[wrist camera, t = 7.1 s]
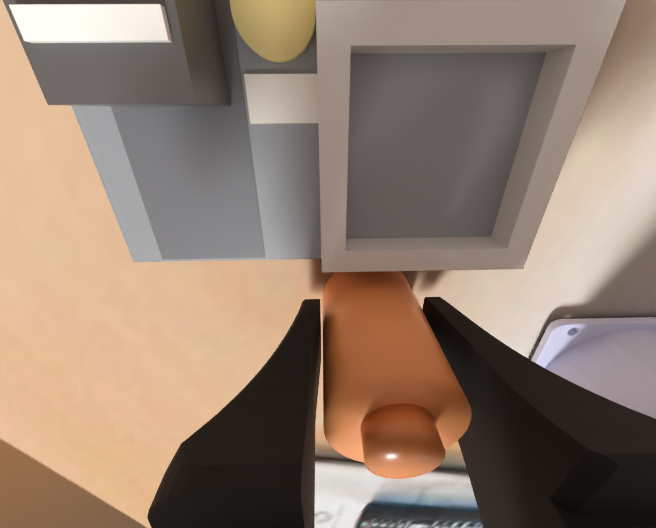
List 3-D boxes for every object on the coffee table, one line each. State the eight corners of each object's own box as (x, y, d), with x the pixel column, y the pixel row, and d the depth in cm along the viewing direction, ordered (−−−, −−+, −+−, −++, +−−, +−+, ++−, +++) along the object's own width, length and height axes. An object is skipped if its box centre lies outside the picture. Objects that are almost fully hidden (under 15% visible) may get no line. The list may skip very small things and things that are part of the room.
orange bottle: (415, 258, 12) (509, 406, 6) (403, 329, 14) (465, 493, 8) (322, 259, 12) (322, 410, 6) (323, 330, 14) (324, 498, 8)
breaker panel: (575, -46, 7) (665, -102, 5) (489, 242, 12) (522, 269, 10) (47, -46, 7) (-53, -104, 5) (151, 247, 11) (116, 275, 9)
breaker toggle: (212, -14, 7) (153, -81, 4) (230, 105, 8) (192, 103, 6) (86, -13, 7) (-42, -82, 4) (124, 106, 8) (40, 104, 5)
